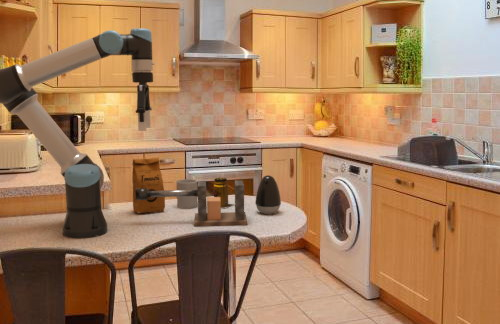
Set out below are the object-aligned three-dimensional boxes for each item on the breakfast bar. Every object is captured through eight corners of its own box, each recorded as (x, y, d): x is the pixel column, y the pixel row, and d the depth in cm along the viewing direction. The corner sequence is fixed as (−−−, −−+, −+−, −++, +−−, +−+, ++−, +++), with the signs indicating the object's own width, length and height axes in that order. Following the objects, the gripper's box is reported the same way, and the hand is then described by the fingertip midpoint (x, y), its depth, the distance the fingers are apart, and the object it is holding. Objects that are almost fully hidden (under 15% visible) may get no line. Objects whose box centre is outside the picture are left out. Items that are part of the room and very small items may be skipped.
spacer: (207, 219, 202) (206, 201, 201) (207, 215, 209) (207, 197, 208) (220, 219, 202) (220, 201, 201) (220, 214, 209) (220, 196, 208)
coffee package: (166, 212, 219) (165, 158, 216) (135, 215, 215) (133, 160, 211) (161, 207, 228) (159, 155, 225) (131, 210, 224) (129, 157, 221)
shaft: (135, 201, 200) (135, 189, 199) (137, 198, 204) (137, 187, 204) (201, 199, 202) (200, 188, 201) (201, 197, 206) (201, 185, 205)
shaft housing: (194, 226, 198) (193, 187, 196) (195, 216, 212) (194, 180, 210) (247, 225, 199) (247, 186, 197) (245, 215, 213) (244, 179, 211)
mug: (198, 208, 226) (198, 182, 225) (178, 209, 225) (177, 183, 223) (195, 202, 238) (195, 177, 236) (176, 203, 236) (175, 178, 235)
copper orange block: (209, 207, 228) (209, 179, 227) (220, 203, 236) (219, 175, 234) (224, 208, 225) (224, 180, 223) (234, 204, 232) (234, 177, 231)
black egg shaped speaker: (252, 215, 214) (252, 177, 212) (258, 209, 224) (258, 172, 222) (278, 216, 212) (278, 178, 209) (282, 210, 222) (283, 173, 219)
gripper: (149, 71, 188) (151, 132, 191) (156, 72, 213) (158, 126, 216) (127, 71, 188) (129, 132, 191) (136, 72, 212) (138, 126, 216)
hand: (144, 129), depth 204 cm, fingers open, 13 cm apart
